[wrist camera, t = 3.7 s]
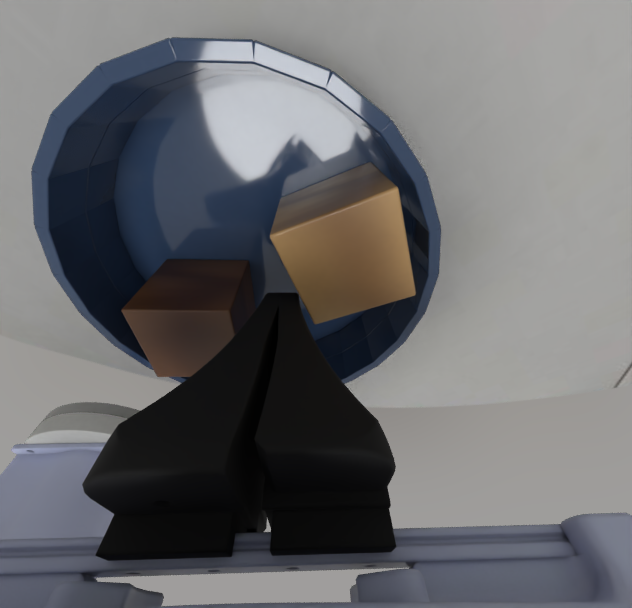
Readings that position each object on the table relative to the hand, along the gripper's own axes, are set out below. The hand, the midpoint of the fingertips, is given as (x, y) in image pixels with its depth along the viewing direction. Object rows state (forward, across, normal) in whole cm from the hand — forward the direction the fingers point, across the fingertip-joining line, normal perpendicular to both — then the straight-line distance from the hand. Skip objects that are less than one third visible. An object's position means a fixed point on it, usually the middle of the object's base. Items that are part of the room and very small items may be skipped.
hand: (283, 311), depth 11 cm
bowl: (+3, +1, -1) cm, 4 cm away
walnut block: (+3, +4, +1) cm, 5 cm away
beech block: (+3, -2, -3) cm, 5 cm away
